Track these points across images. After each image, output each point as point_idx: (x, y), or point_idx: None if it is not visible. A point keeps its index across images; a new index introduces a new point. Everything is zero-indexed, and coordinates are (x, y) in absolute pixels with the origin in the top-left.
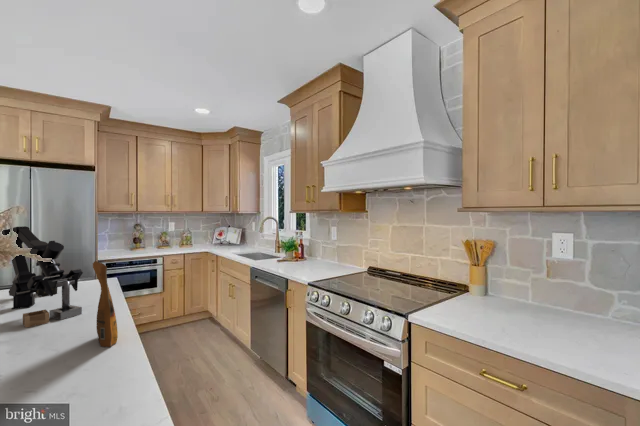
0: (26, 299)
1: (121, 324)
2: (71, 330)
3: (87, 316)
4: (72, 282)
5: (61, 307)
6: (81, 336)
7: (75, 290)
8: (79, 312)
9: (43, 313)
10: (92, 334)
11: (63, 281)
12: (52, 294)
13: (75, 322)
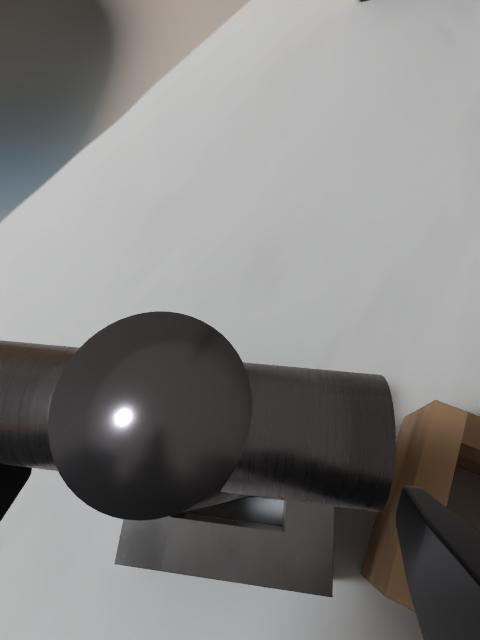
0: None
1: (261, 24)
2: (419, 141)
3: (208, 280)
4: (45, 345)
5: (207, 577)
6: (442, 42)
7: (24, 473)
8: None
9: (474, 439)
10: (403, 26)
11: (153, 501)
12: (416, 488)
13: (323, 240)
